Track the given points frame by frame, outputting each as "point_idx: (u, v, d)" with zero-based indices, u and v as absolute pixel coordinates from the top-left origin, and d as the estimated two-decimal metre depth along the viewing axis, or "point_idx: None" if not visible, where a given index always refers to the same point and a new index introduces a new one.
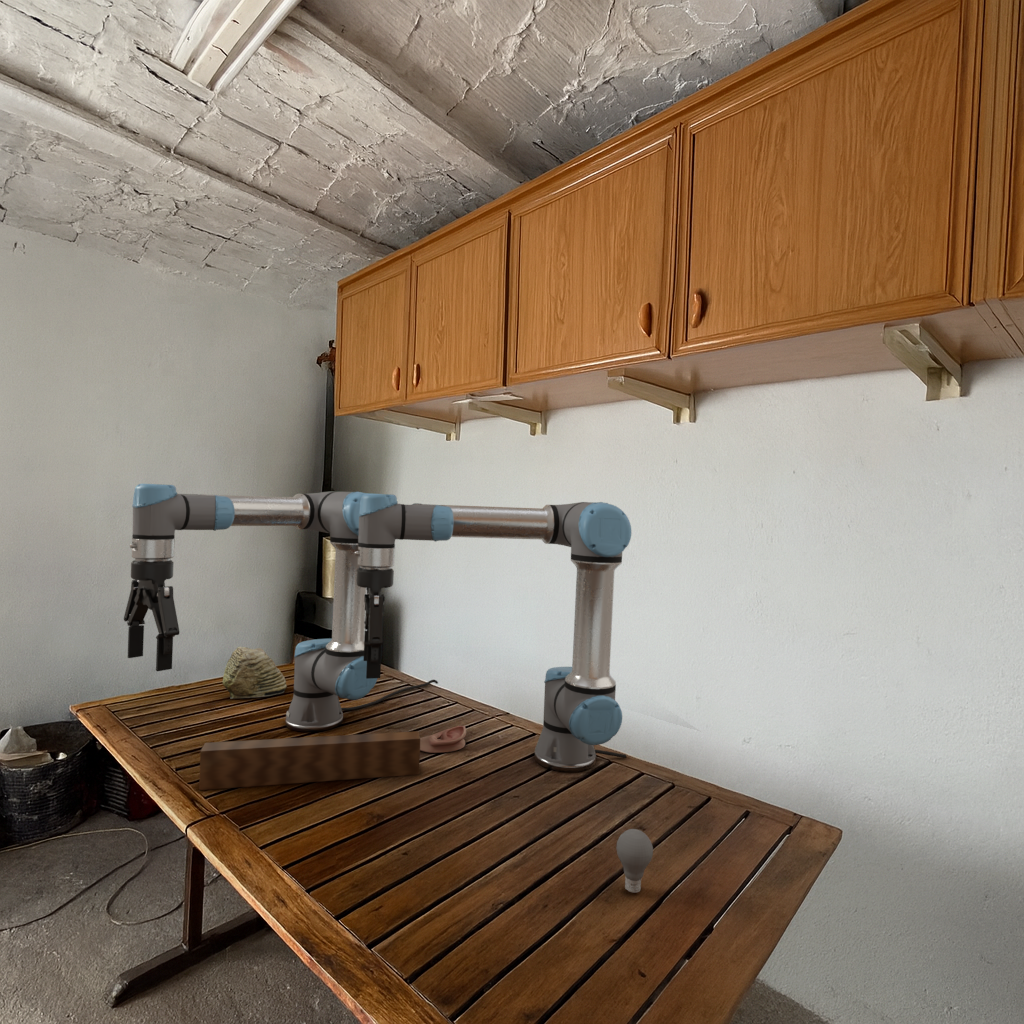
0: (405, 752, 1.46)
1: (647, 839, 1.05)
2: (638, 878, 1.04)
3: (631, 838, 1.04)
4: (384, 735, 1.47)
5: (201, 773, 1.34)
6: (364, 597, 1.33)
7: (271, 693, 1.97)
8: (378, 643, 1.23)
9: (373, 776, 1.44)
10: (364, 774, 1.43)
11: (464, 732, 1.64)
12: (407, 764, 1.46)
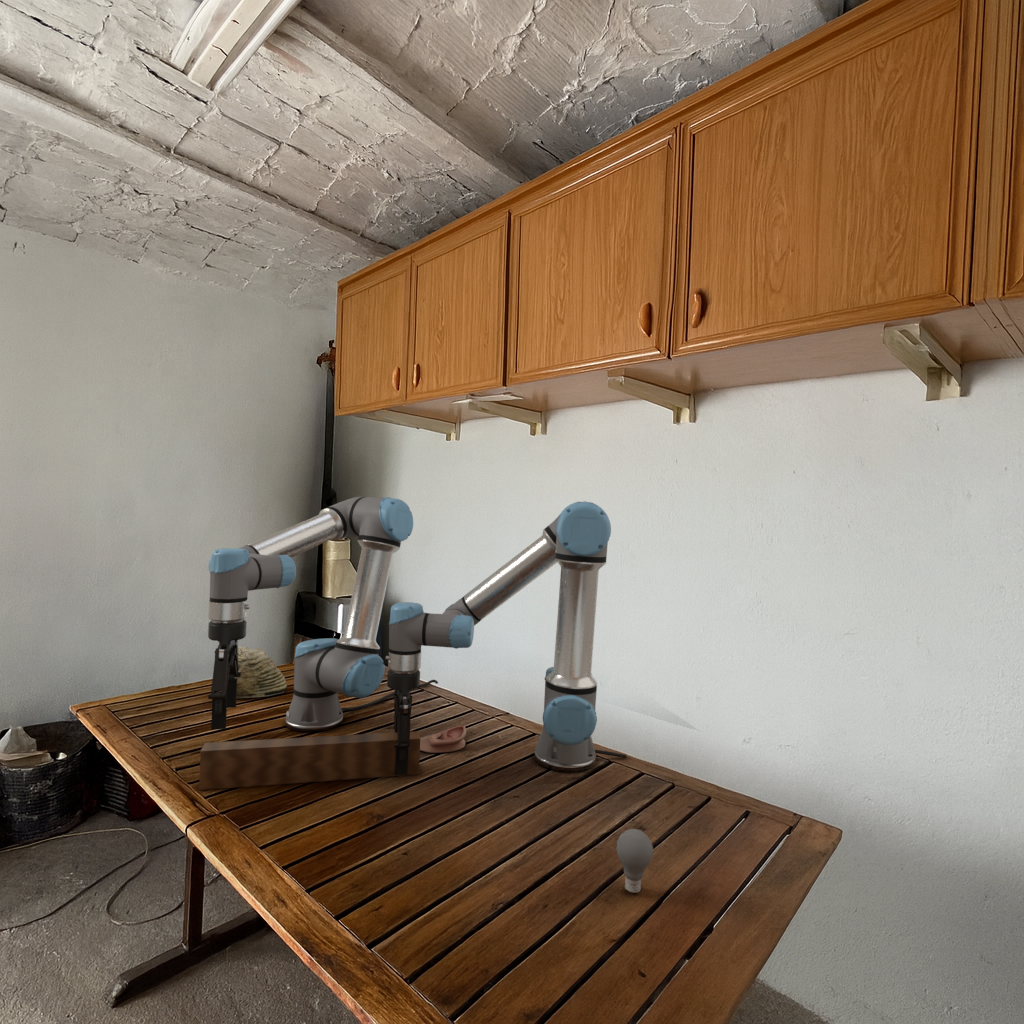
0: None
1: (647, 839, 1.05)
2: (638, 878, 1.04)
3: (631, 838, 1.04)
4: (384, 735, 1.47)
5: (201, 773, 1.34)
6: None
7: (271, 693, 1.97)
8: (406, 746, 1.42)
9: (373, 776, 1.44)
10: (364, 774, 1.43)
11: (464, 732, 1.64)
12: None
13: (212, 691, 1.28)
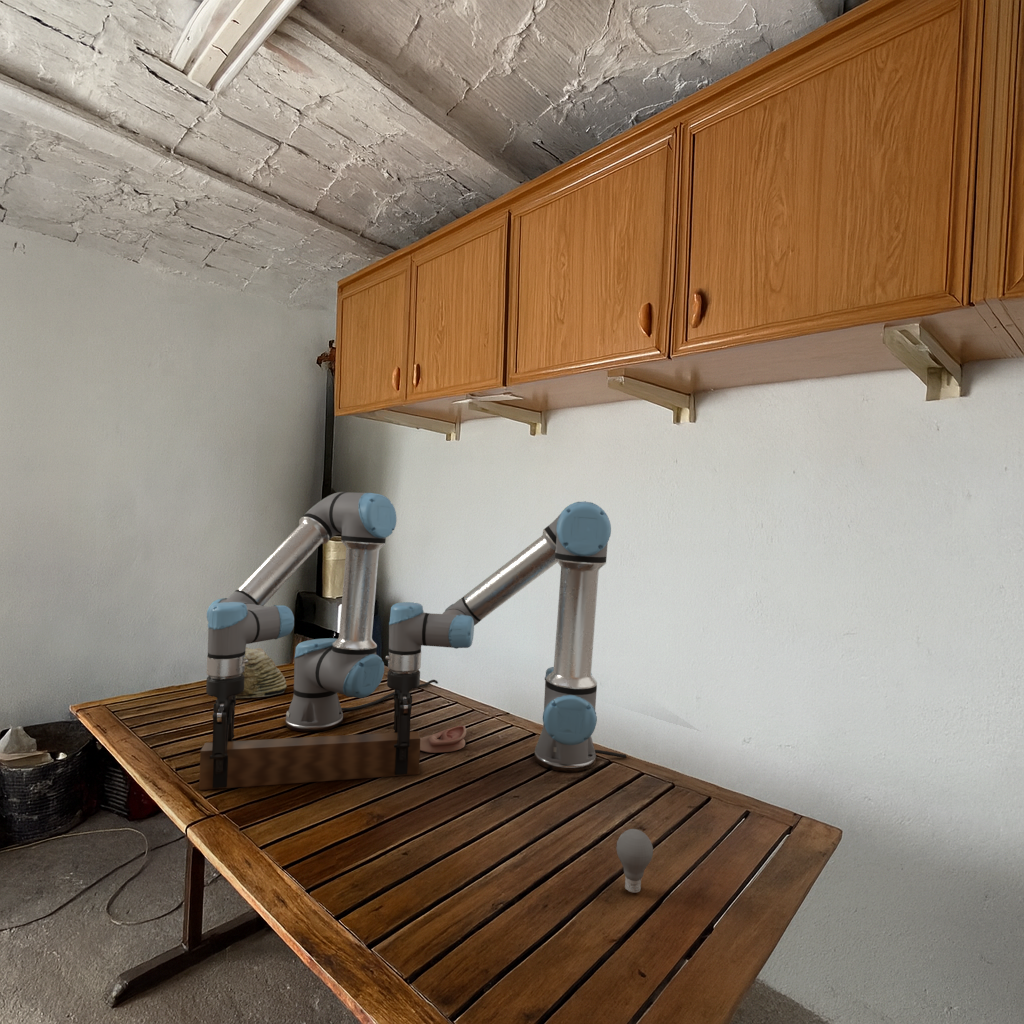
0: None
1: (647, 839, 1.05)
2: (638, 878, 1.04)
3: (631, 838, 1.04)
4: (384, 735, 1.47)
5: (201, 773, 1.34)
6: None
7: (271, 693, 1.97)
8: (406, 746, 1.42)
9: (373, 776, 1.44)
10: (364, 774, 1.43)
11: (464, 732, 1.64)
12: None
13: (213, 753, 1.31)
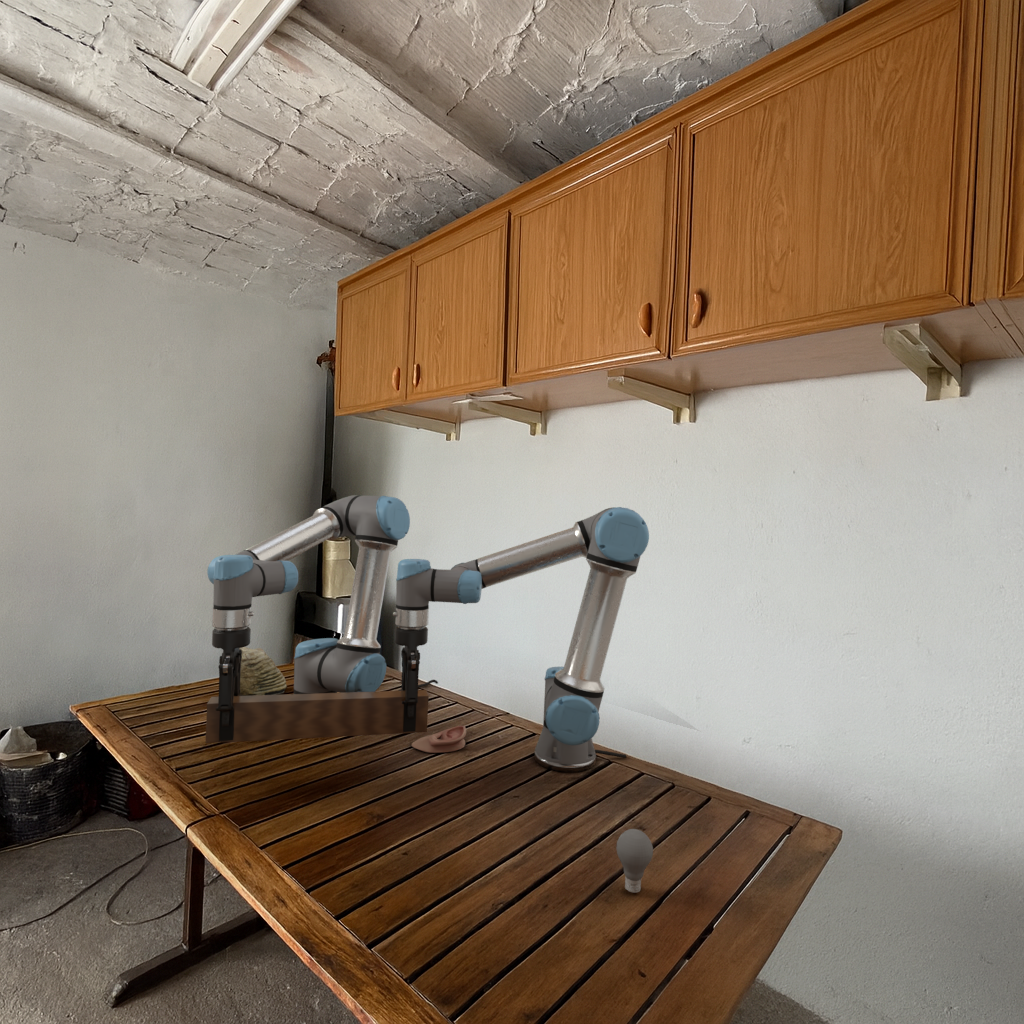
0: None
1: (647, 839, 1.05)
2: (638, 878, 1.04)
3: (631, 838, 1.04)
4: (392, 693, 1.46)
5: (207, 726, 1.33)
6: (401, 653, 1.47)
7: (271, 693, 1.97)
8: (414, 702, 1.40)
9: (380, 733, 1.42)
10: (371, 731, 1.42)
11: (464, 732, 1.64)
12: None
13: (219, 705, 1.30)
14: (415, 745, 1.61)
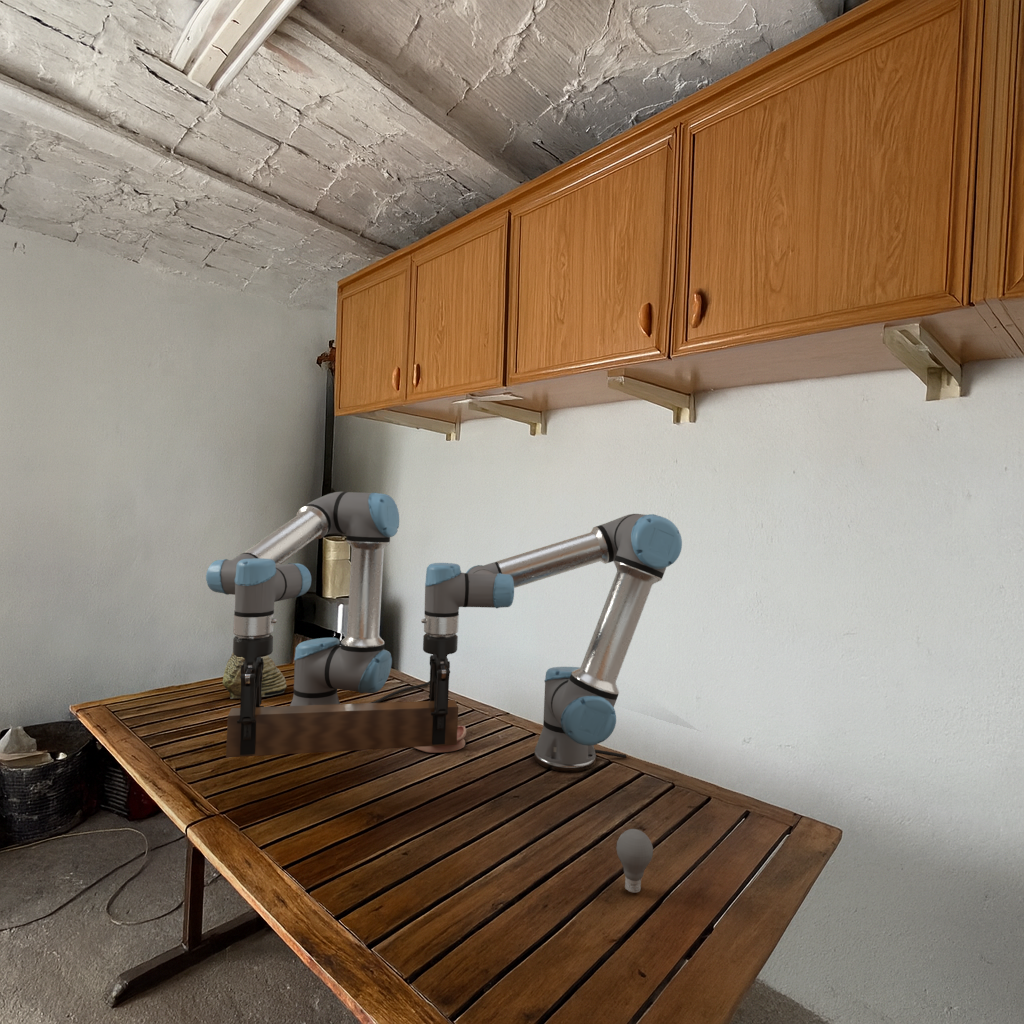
0: None
1: (647, 839, 1.05)
2: (638, 878, 1.04)
3: (631, 838, 1.04)
4: (420, 703, 1.39)
5: (228, 739, 1.26)
6: (430, 662, 1.40)
7: (271, 693, 1.97)
8: (444, 713, 1.34)
9: (408, 746, 1.36)
10: (399, 744, 1.35)
11: (464, 732, 1.64)
12: None
13: (241, 717, 1.23)
14: None
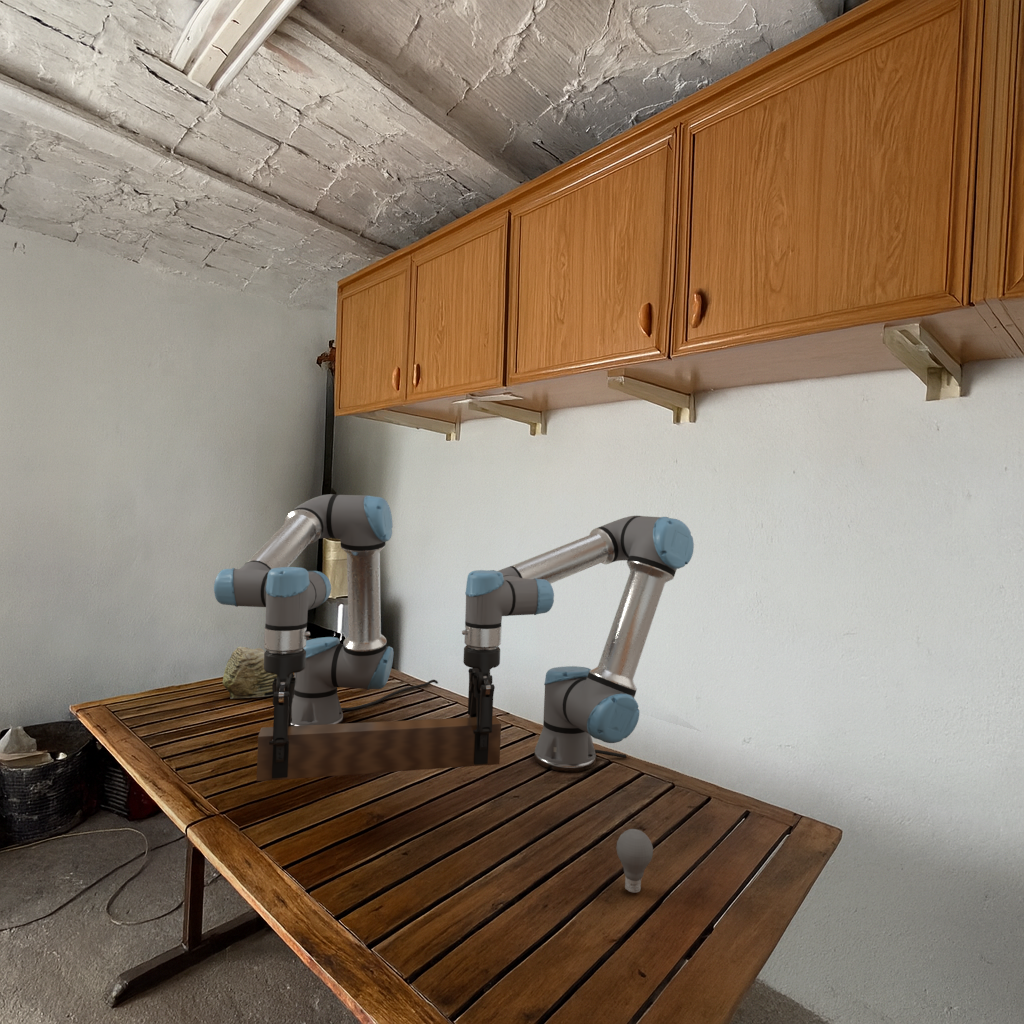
0: None
1: (647, 839, 1.05)
2: (638, 878, 1.04)
3: (631, 838, 1.04)
4: (460, 720, 1.31)
5: (259, 762, 1.17)
6: (470, 676, 1.31)
7: (271, 693, 1.97)
8: (488, 731, 1.25)
9: (449, 766, 1.27)
10: (439, 764, 1.26)
11: None
12: None
13: (274, 738, 1.14)
14: None
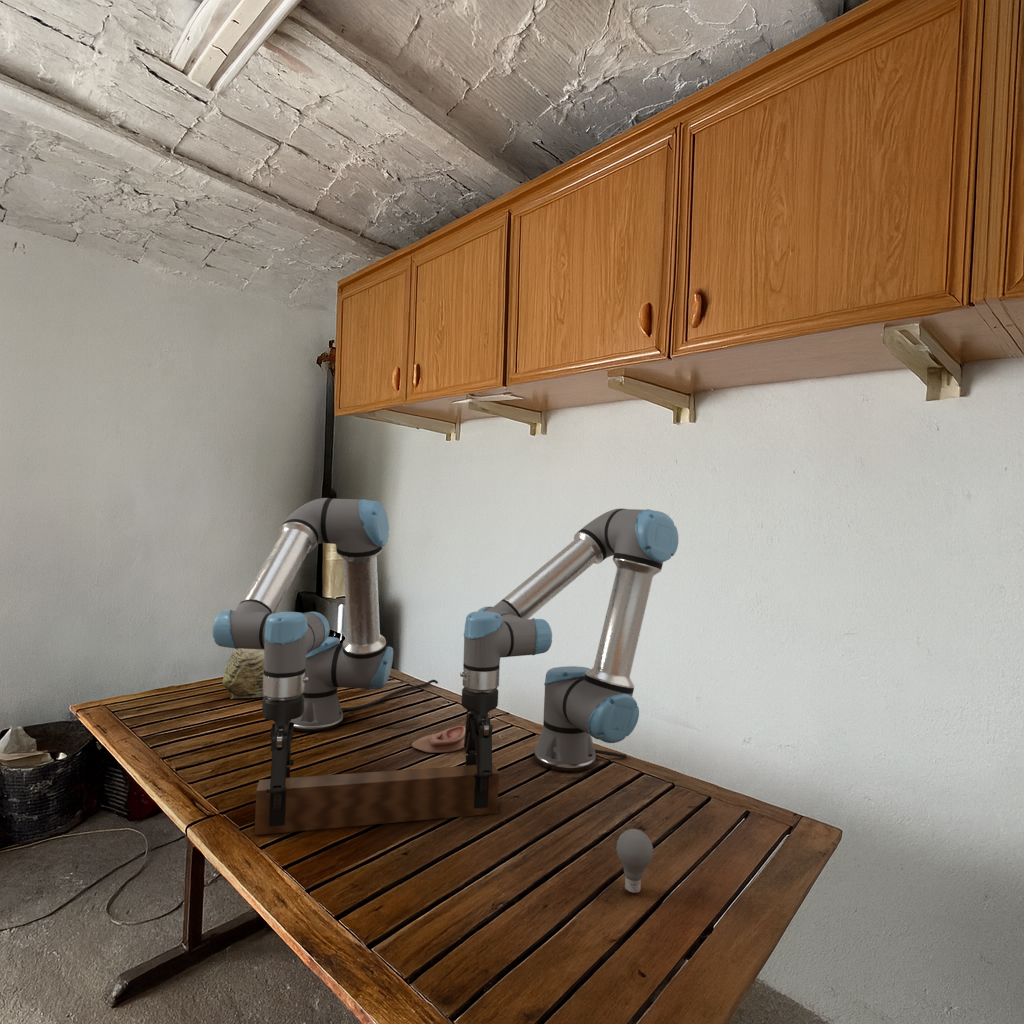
0: None
1: (647, 839, 1.05)
2: (638, 878, 1.04)
3: (631, 838, 1.04)
4: (458, 769, 1.31)
5: (257, 816, 1.18)
6: (468, 717, 1.32)
7: None
8: (488, 776, 1.23)
9: (447, 816, 1.27)
10: (437, 814, 1.27)
11: (464, 732, 1.64)
12: None
13: (271, 786, 1.13)
14: (415, 745, 1.61)
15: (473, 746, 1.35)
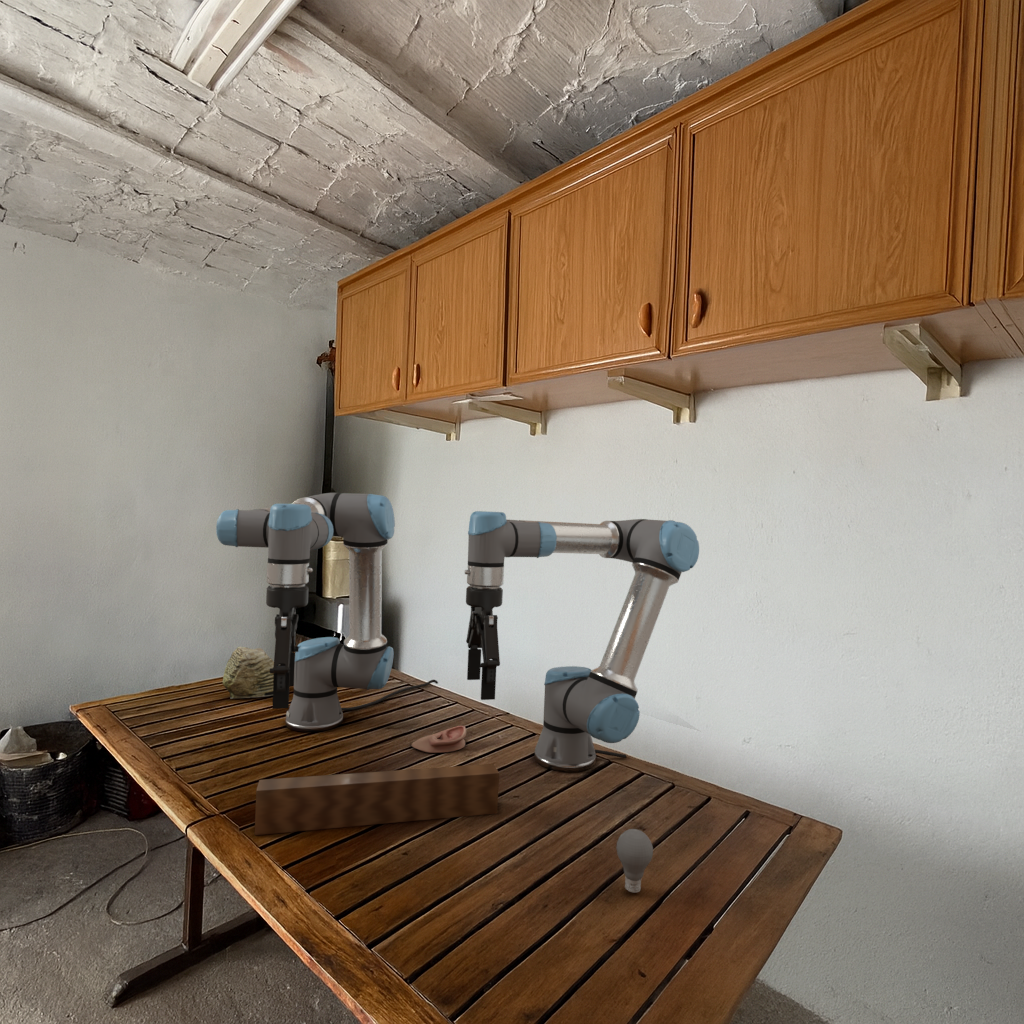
0: (482, 788, 1.29)
1: (647, 839, 1.05)
2: (638, 878, 1.04)
3: (631, 838, 1.04)
4: (458, 769, 1.31)
5: (257, 816, 1.18)
6: (472, 616, 1.31)
7: (271, 693, 1.97)
8: (496, 664, 1.21)
9: (447, 816, 1.27)
10: (437, 814, 1.27)
11: (464, 732, 1.64)
12: (484, 802, 1.29)
13: (275, 664, 1.11)
14: (415, 745, 1.61)
15: (476, 642, 1.36)
